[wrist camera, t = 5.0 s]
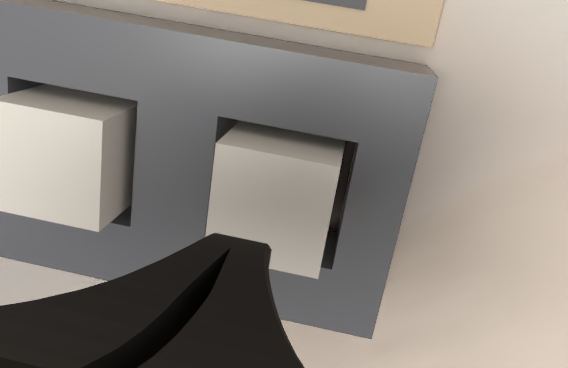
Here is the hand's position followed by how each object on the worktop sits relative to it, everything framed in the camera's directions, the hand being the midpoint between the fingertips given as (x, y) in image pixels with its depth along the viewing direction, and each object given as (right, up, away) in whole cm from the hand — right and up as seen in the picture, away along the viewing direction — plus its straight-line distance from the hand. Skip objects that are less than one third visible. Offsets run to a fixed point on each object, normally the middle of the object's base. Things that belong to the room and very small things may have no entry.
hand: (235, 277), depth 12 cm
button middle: (-6, +4, +7) cm, 10 cm away
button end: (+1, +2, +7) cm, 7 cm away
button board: (-6, +4, +9) cm, 11 cm away
